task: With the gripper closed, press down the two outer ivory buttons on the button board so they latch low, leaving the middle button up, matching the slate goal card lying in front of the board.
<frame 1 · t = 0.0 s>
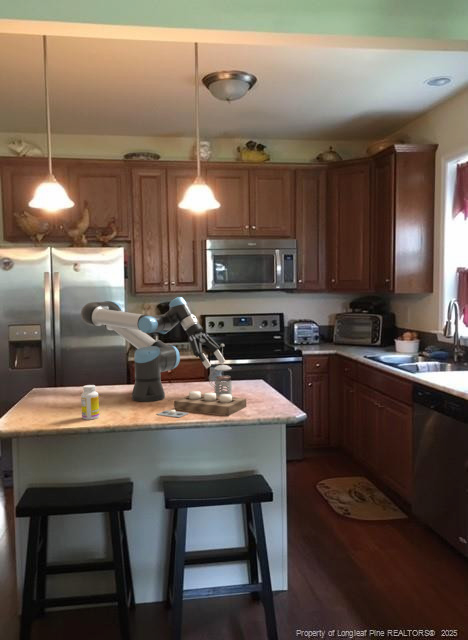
hand: (216, 364, 235), 15 cm above the worktop, tool tilted 35°, fingers open, 13 cm apart
button 1: (195, 396, 220), point 5 cm above the worktop, slide at 0.0 cm
button 3: (225, 399, 213), point 5 cm above the worktop, slide at 0.0 cm
button 2: (210, 397, 216), point 5 cm above the worktop, slide at 0.0 cm
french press: (221, 398, 236), on the worktop
supplement bottle: (90, 418, 204), on the worktop
board: (210, 408, 217), on the worktop
goal card: (172, 414, 207), on the worktop
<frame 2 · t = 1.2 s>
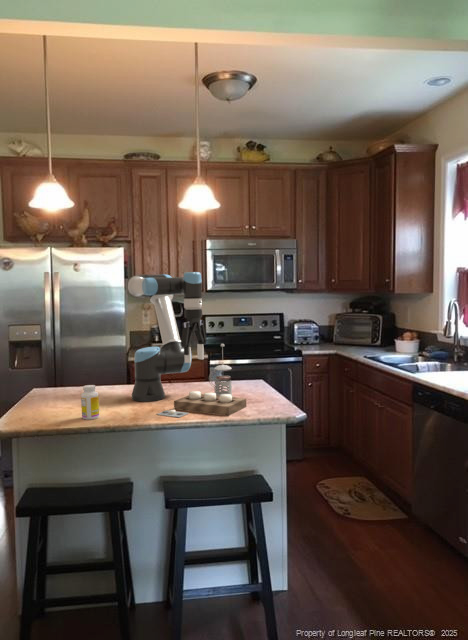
hand: (194, 360, 219), 20 cm above the worktop, tool pointing down, fingers open, 10 cm apart
nothing on the worktop moved.
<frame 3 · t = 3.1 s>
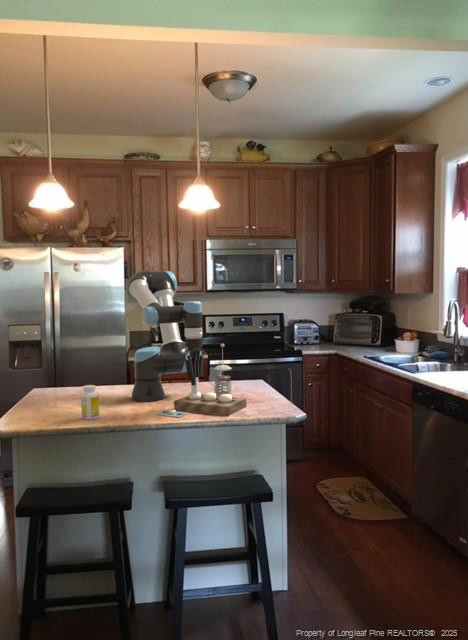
hand: (195, 392, 219), 6 cm above the worktop, tool pointing down, fingers closed
button 1: (195, 396, 220), point 4 cm above the worktop, slide at 0.3 cm, touching gripper
everything else where it was.
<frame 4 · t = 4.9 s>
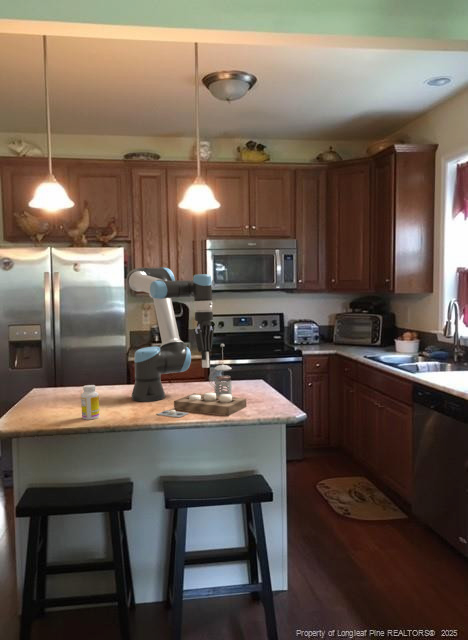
hand: (205, 367, 215), 17 cm above the worktop, tool pointing down, fingers closed
button 1: (195, 399, 220), point 3 cm above the worktop, slide at 1.6 cm
everything else where it was.
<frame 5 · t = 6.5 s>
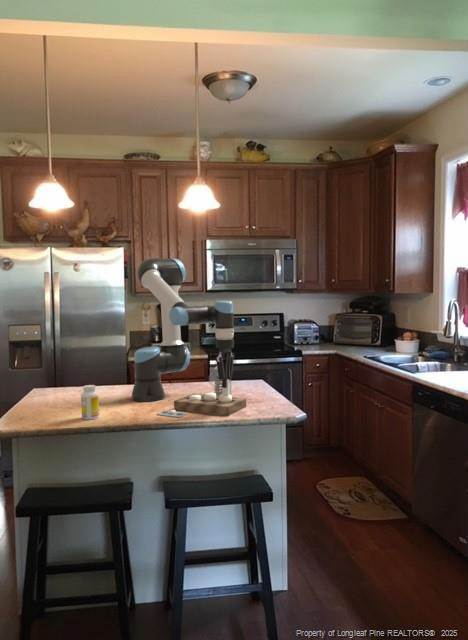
hand: (226, 395, 213), 6 cm above the worktop, tool pointing down, fingers closed
button 3: (225, 399, 213), point 4 cm above the worktop, slide at 0.1 cm, touching gripper
everything else where it was.
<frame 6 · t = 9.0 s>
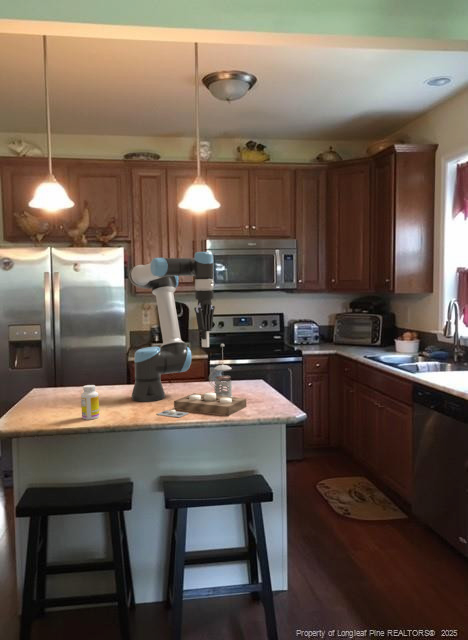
hand: (205, 346, 212), 26 cm above the worktop, tool pointing down, fingers closed
button 3: (225, 402, 213), point 3 cm above the worktop, slide at 1.6 cm
everything else where it was.
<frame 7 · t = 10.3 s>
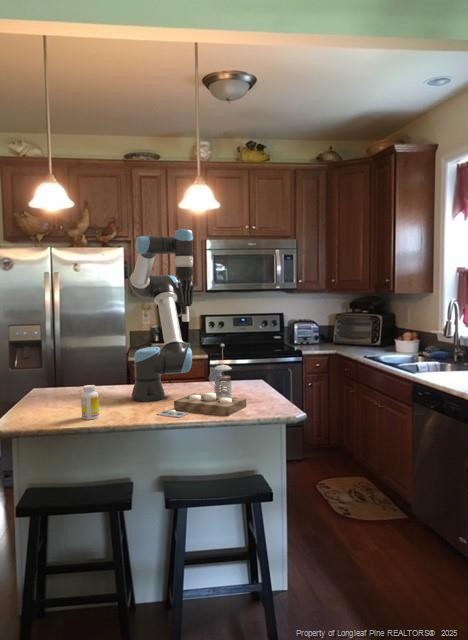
hand: (185, 321, 220), 36 cm above the worktop, tool pointing down, fingers closed
nothing on the worktop moved.
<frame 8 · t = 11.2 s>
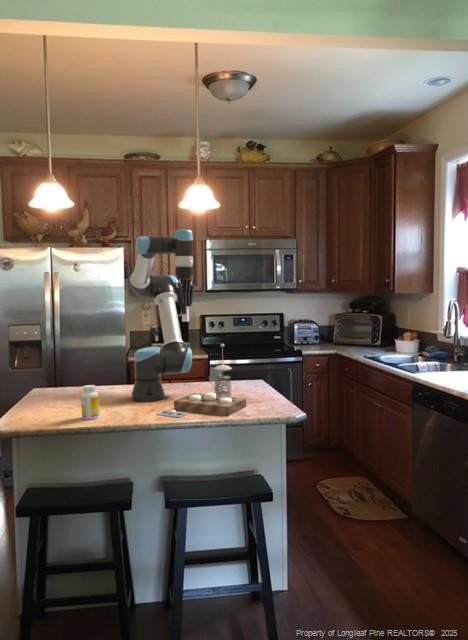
hand: (185, 321, 220), 36 cm above the worktop, tool pointing down, fingers closed
nothing on the worktop moved.
at the end: button 1 slide at 1.6 cm; button 3 slide at 1.6 cm; button 2 slide at 0.0 cm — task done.
